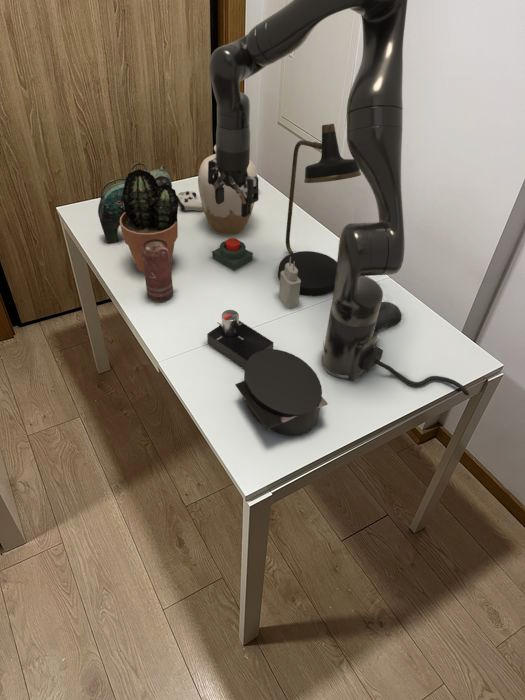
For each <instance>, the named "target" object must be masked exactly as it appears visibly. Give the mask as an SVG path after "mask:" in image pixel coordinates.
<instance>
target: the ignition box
mask: <svg viewBox="0 0 525 700" xmlns="http://www.w3.org/2000/svg"><path fill="white" fill-rule="evenodd" d="M226 240H227V239H225V240H223V241H222V242H221V243H220V245H219V247H217V248H216V249H214V250H212V252H211V258H212V259H213V260H214V261H216V262H218V263H219V264H221V265H222V266H225V268H228V269H230V270H232V271H233V272H236V271H237V270H239V269H240V268H242V267H243V266H246V265H247V264H249V263H250V262H252V261H253V260H254V253H253V252H252V251H250V250H248V249H247V247H246V245H245V242H243V241H241V240H239V241H240V248H239V250H237V251H229V250H227V249H226Z"/></svg>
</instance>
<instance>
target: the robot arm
mask: <svg viewBox="0 0 525 700" xmlns="http://www.w3.org/2000/svg"><path fill="white" fill-rule="evenodd" d="M407 9H408V0H292V1H290V2H289V3H287V4H286V5H285V6H284V7H282V8H280V9H279V10H278V11H276V12H275V13H273V14H271V15H270V16H268V17H267V18H265V19H264V20H262V21H261V22H259V23H258V24H256V25H255V26H253V27H252V28H251V29H250V31H248V33H247V34H245V35H244V36H242V37H241V38H238V39H236V40H234V41H232V42H229V43H227V44H224V45H221V46H219V47H217V48H215V49H214V50H213V52H212V53H211V56H210V59H209V62H208V64H209V65H208V73H209V79H210V82H211V87H212V92H213V95H214V98H215V101H216V130H215V131H216V132H215V145H216V152H215V154H216V158H215V159H213V160H211V161H209V162H208V183H209V184H210V185H211V184H212V185H213V188H214V189H215V200H216V203H217V204H221V203H223V202H224V188H223V187H222V186H224V185H226V186H229V187H231V188H232V189H234V190H235V191H236V194H237V195H239V196H240V198H241V201H242V206H241V216H242V217H246V216H248V215H249V214H250V213H251V204H253V203H254V204H255V203H257V202H259V191H258V189H259V177H258V175H257V176H255V177H250V176H248V173H247V168H248V166H249V161H250V160H251V158H250V157H251V156H250V155H251V129H250V128H251V127H250V125H251V124H250V118H251V115H250V114H251V102H250V98H249V96H248V95H247V94H246V93H244V92H241V91H240V82H242V81H244V80H246V79H249V78H251V77H252V76H254V75H256V74H257V73H259V72H260V71H262V70H263V69H264V68H266V67H267V66H270V65H273V64H274V63H276V62H279V61H280V60H282V59H283V58H285V57H287V56H289V55H290V54H292V53H294V52H295V51H296V50H298V49H299V48H300V47H301V46H302V45H304V44H305V42H306V41H307V39H308V38H309V36H310V35H311V34H312V32H313V30H314V29H315V28H316V27H317V26H318V25H319V24H320V23H321V22H322V21H324V20H325V19H327V18H328V17H331V16H333V15H335V14H338V13H340V12H342V11H346V10H351V11H353V12H355V13H356V14H358V15H360V17H361V22H362V23H361V24H362V36H363V37H362V55H361V61H360V65H359V68H358V71H357V74H356V75H355V78H354V81H353V83H352V86H351V88H350V91H349V94H348V98H347V104H346V143H347V148H348V150H349V152H350V155H351V157H352V159H354V160H355V162H356V164H357V165H358V167H359V169H360V172H361V174H362V175H363V176H364V178H365V180H366V181H367V183H368V184H369V187H370V189H371V191H372V193H373V195H374V198H375V202H376V208H377V213H378V222H377V221H375V222H373V221H372V222H371V221H370V222H352V223H347V224H346V225H345V226H344V227H343V229H342V230H341V233H340V237H339V241H338V248H337V259H336V261H337V268H336V274H335V284H334V291H333V294H332V300H331V306H330V311H329V318H328V322H327V328H326V334H325V340H324V341H323V342H322V349H323V350H322V355H321V360H320V361H321V365H322V367H323V369H324V370H325V371H326V372H327V373H328V374H329V375H331V376H333V377H335V378H338V379H343V380H344V379H345V380H349V381H351V382H354V381H355V380H356V379H357V378H359V377H360V376H361V375H363V373H364V372H366V373H369V371H371V370H372V369H373V368H374V367H375V366H376V365H378V366H379V367H381V368H383V369H384V370H386V371H388V372H390V373H391V374H392V375H393V376H395V377H396V378H398V379H399V380H400V381H402V382H403V383H405V384H407V385H409V386H412V387H423V386H425V385H426V384H428V383H430V382H432V381H440V382H445V383H448V384H450V385H453V386H455V387H456V388H457V389H459V390H460V391H461V392H462V393H463V394H464V395H465V396H470V392H469V390H467V389H466V387H465V386H464V385H463V384H461V383H460V382H458V381H456V380H454V379H452V378H449V377H445V376H440V375H431V376H428V377H426V378H424V379H423V380H421V381H414V380H413V381H412V380H410V379H408V377H406V376H404V375H403V374H401V373H400V372H398V371H397V370H396V369H395V368H393V367H392V366H390V365H389V364H386V363H385V362H383V361H381V360H382V357H383V353H384V349H382V348H381V347H379V346H377V345H376V344H375V342H376V338H378V333H377V332H374V330H375V326H376V322H377V318H378V314H379V310H380V306H381V303H382V302H383V299H384V292H383V288H382V286H381V285H380V284H379V283H378V282H377V281H376V280H374V279H373V278H371V277H369V276H384V275H385V276H388V275H389V276H390V275H394V274H397V273H398V272H400V270H401V268H402V266H403V263H404V258H405V249H406V248H405V247H406V246H405V245H406V243H405V240H406V239H405V221H404V209H403V208H404V207H403V194H402V193H403V192H402V149H403V126H404V125H403V123H404V122H403V121H404V119H403V116H404V114H403V112H404V109H403V108H404V107H403V74H404V73H403V71H404V59H403V56H404V55H403V53H404V37H405V27H406V18H407ZM219 173H220V176H219ZM213 175H214V178H213ZM242 186H244V189H243V190H240V187H242ZM244 193H245V194H246V196H247V197H246V198H245V196H244ZM251 214H252V213H251Z"/></svg>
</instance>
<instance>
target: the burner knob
mask: <svg viewBox="0 0 525 700" xmlns="http://www.w3.org/2000/svg"><path fill="white" fill-rule="evenodd" d="M239 321H240V315H239V312H238V311H236V310H234V309H227V310H224V311H223V312H222V313H221V324H222V333H223V334H224V335H225V336H228V337H232V336H235V335H237V334H238V331H239Z"/></svg>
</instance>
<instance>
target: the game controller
mask: <svg viewBox="0 0 525 700" xmlns="http://www.w3.org/2000/svg"><path fill="white" fill-rule="evenodd" d="M176 195H177V199H178V203H179V206H181V209H180V210H181V211H183V212H186V211H189V210H191V211H197V212H201V211H204V210H203V207H202V203H201V201H200V200H197V193H196V191H194V190H186V191H181V192H179V193H176Z"/></svg>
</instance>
